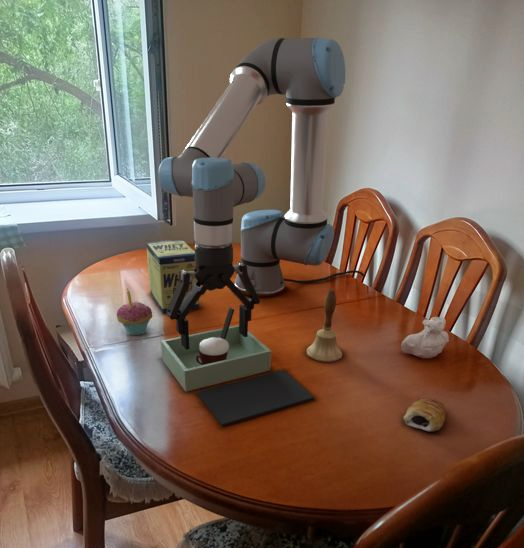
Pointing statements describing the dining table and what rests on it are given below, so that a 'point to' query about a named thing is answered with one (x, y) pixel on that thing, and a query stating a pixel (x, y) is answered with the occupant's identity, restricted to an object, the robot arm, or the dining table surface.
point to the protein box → (168, 269)
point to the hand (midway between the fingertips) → (215, 340)
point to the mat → (253, 397)
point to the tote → (239, 363)
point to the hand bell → (326, 335)
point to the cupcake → (134, 316)
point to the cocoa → (215, 345)
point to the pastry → (426, 415)
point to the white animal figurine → (427, 339)
